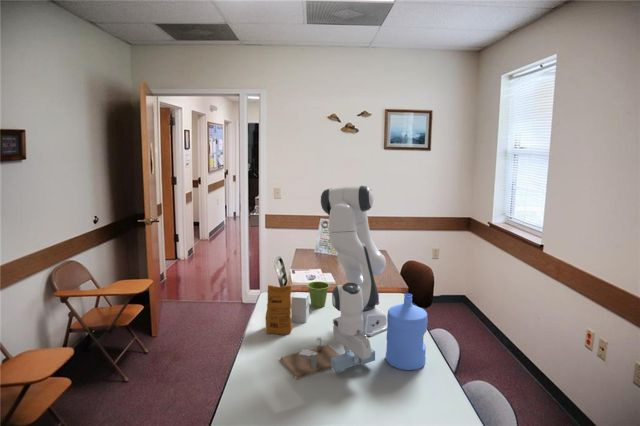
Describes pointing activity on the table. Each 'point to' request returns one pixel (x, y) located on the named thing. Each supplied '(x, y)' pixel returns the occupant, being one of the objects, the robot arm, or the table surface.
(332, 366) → the link
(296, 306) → the supplement box
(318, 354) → the base board
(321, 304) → the plant pot
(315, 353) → the pintle keeper
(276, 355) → the table surface
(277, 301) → the coffee package
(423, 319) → the water jug
